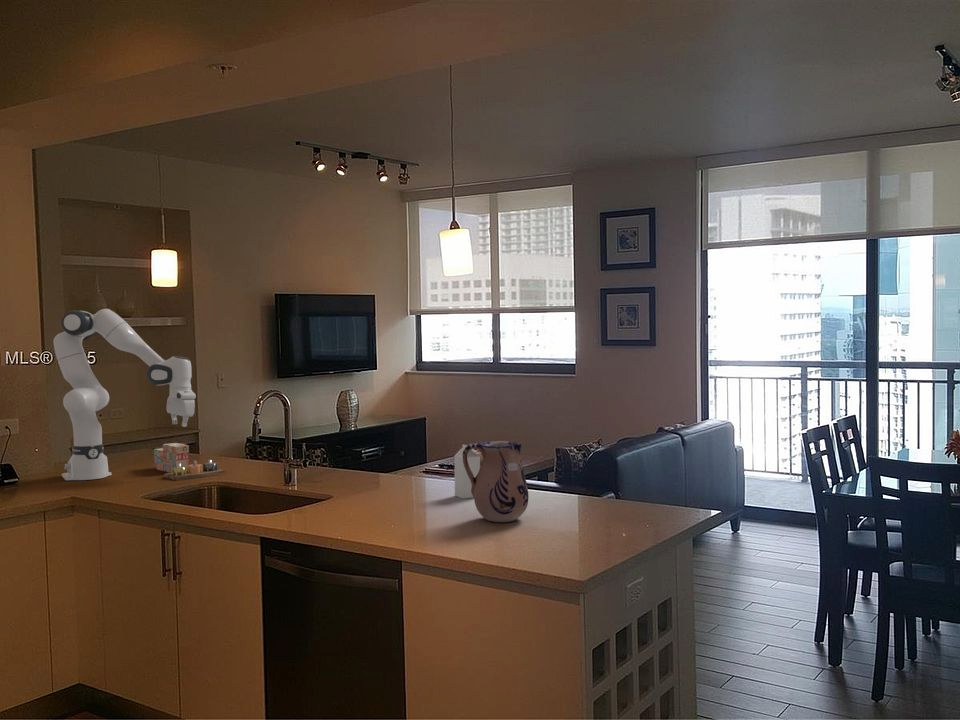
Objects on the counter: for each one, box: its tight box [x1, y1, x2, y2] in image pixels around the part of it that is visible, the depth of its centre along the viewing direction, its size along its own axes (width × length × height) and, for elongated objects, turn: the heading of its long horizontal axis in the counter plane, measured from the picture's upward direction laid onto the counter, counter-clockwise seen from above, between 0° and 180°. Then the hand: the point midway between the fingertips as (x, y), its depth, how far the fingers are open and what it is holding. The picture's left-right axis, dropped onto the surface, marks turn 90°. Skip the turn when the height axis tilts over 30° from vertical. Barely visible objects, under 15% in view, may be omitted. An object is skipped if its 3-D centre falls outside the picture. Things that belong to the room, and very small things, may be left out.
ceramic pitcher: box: [463, 440, 530, 523], centre depth 273 cm, size 18×21×25 cm
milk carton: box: [453, 444, 481, 500], centre depth 313 cm, size 7×7×19 cm
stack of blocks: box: [153, 442, 190, 473], centre depth 380 cm, size 21×6×12 cm, turn 46°
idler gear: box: [187, 463, 203, 473], centre depth 365 cm, size 6×6×3 cm
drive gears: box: [171, 459, 219, 475], centre depth 365 cm, size 6×20×4 cm, turn 134°
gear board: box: [163, 460, 226, 481], centre depth 365 cm, size 12×22×6 cm, turn 134°
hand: (179, 425), depth 366 cm, fingers open, 8 cm apart
